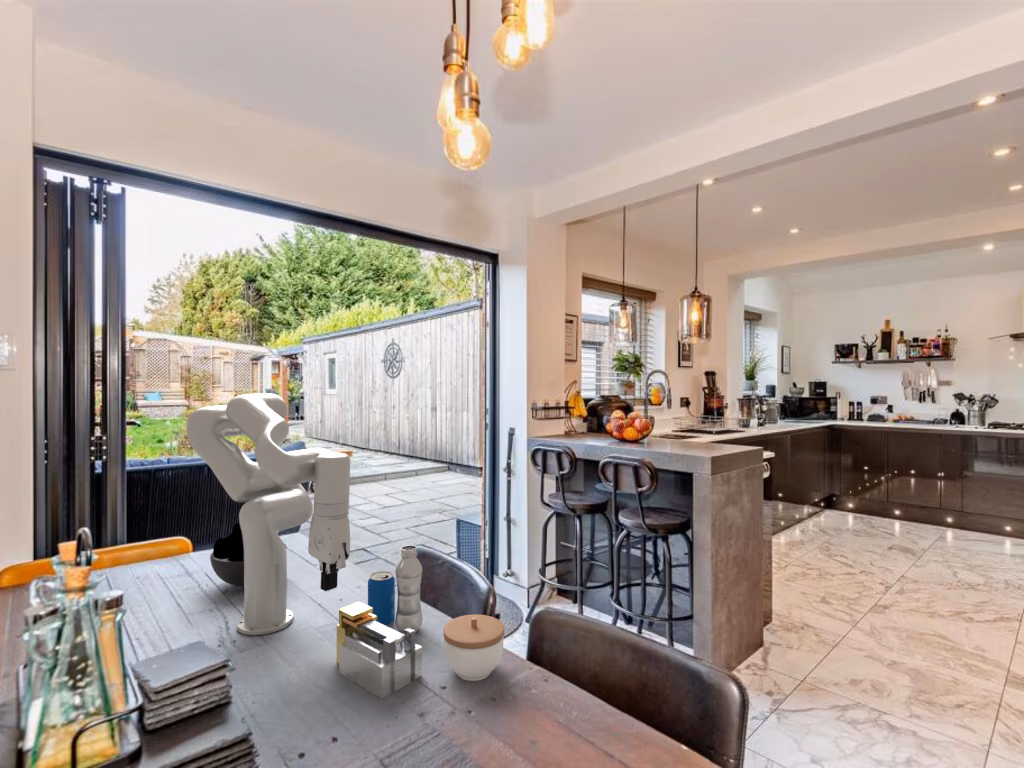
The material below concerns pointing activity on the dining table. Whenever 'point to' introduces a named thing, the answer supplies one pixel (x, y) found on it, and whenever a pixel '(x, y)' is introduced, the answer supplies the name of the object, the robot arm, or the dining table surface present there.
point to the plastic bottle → (408, 590)
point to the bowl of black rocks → (230, 557)
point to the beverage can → (382, 596)
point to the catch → (351, 613)
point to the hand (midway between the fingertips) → (328, 588)
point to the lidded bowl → (473, 645)
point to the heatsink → (380, 662)
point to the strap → (376, 628)
